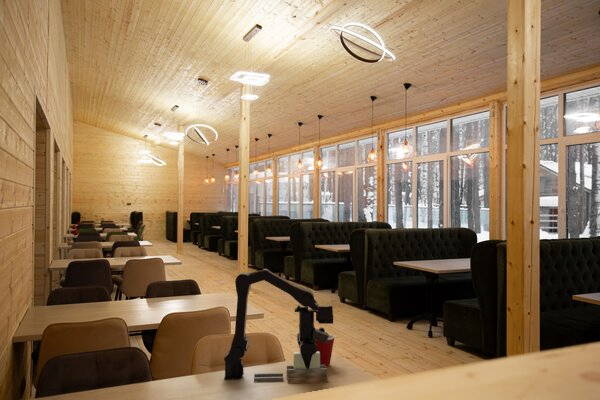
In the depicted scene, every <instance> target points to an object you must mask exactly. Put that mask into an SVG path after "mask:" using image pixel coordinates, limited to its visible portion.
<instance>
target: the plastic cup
mask: <svg viewBox="0 0 600 400" xmlns="http://www.w3.org/2000/svg"><path fill="white" fill-rule="evenodd" d="M328 335H329V338H328V340H327V343H326V344H325V343H323V342H321V341H318V340H316V341H313V342H315V343H316V345H317V351H319V352H320V365H325V366H328V365H329V366H330V364H331V359H332V354H333V349H334V348H333V347H334V342H335V339H336V335H333V334H328ZM329 366H328V367H329Z"/></svg>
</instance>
